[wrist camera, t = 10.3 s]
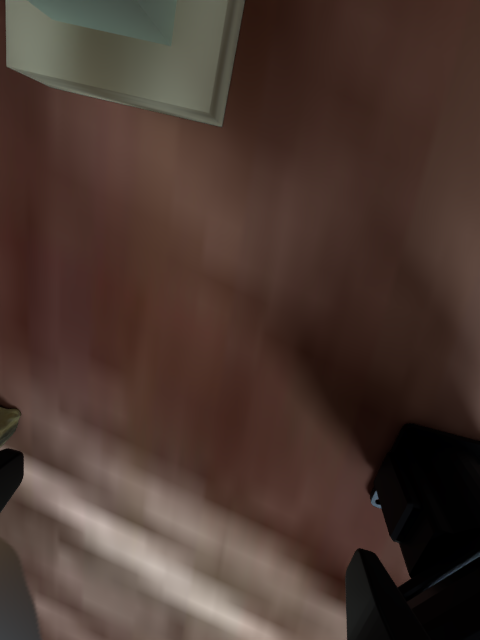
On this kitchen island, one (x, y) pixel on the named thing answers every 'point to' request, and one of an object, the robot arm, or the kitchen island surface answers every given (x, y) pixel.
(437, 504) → the robot arm
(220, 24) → the plinth
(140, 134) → the kitchen island surface
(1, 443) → the rock
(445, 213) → the kitchen island surface
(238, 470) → the kitchen island surface
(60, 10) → the block
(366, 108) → the kitchen island surface
